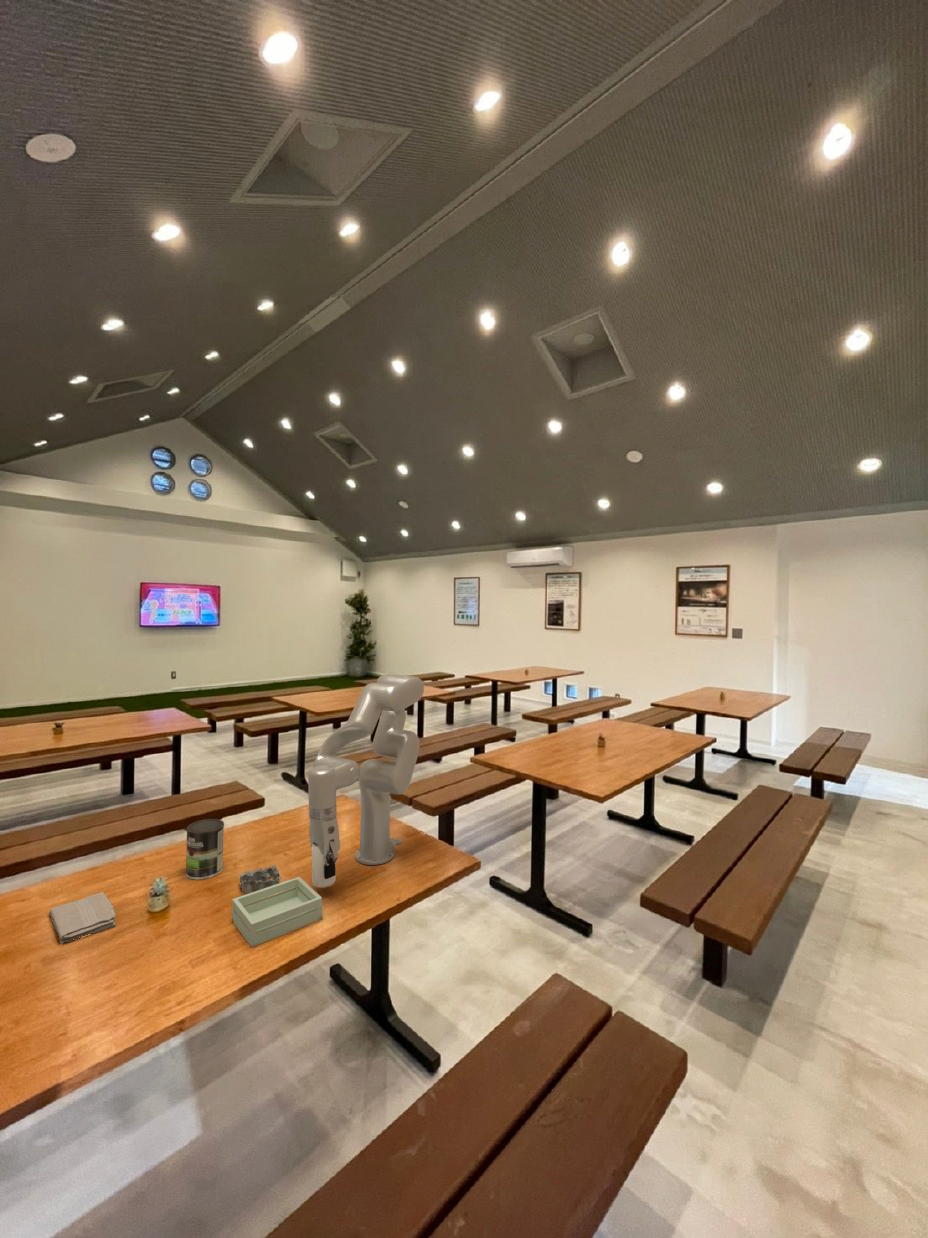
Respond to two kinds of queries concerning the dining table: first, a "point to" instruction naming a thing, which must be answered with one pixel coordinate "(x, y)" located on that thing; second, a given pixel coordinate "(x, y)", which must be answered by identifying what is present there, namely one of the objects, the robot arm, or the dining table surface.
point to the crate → (276, 910)
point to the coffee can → (204, 849)
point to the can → (320, 869)
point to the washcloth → (83, 917)
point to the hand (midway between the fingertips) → (324, 871)
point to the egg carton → (259, 879)
